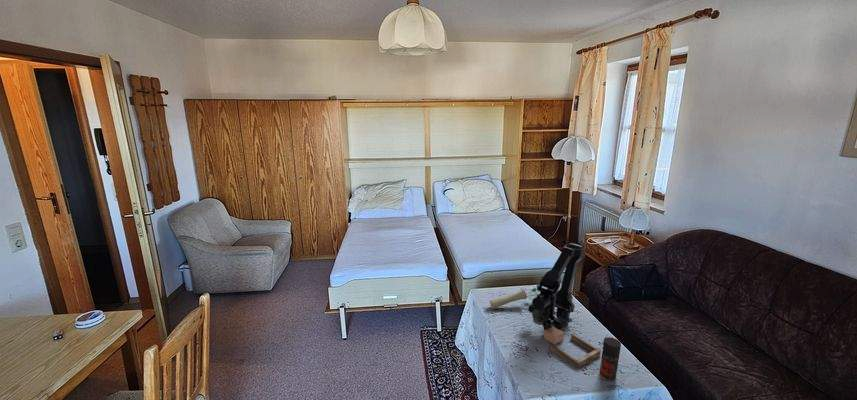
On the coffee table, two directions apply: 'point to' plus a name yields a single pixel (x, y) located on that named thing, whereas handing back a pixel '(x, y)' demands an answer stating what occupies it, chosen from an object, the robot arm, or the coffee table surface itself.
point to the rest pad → (537, 321)
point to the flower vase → (511, 298)
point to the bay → (582, 361)
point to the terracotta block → (553, 335)
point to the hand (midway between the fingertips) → (545, 331)
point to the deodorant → (610, 358)
